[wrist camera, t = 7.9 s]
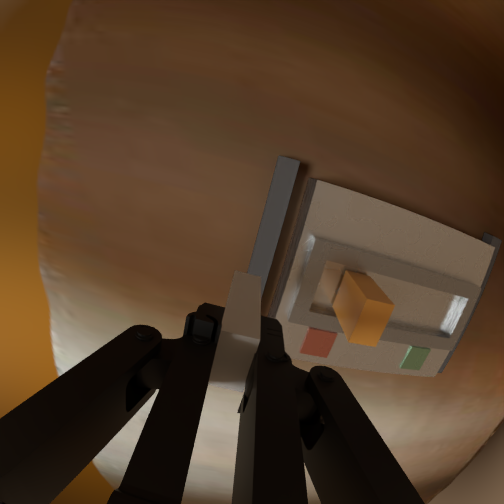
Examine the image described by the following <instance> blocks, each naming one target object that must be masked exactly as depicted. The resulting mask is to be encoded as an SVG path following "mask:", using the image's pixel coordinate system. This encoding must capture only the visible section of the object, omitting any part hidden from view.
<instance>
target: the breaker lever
mask: <svg viewBox="0 0 504 504" xmlns="http://www.w3.org/2000/svg"><path fill="white" fill-rule="evenodd" d="M332 307H333V309H334V311H335V313H336V316H337V318H338V320H339V322H340V325H341V327H342V329H343V331H344V334H345V336H346V338H347V341H348V342H349V343H355V344H361V345H367V346H373V347H376V345H377V343H378V341H379V339H380V337H381V335H382V333H383V331H384V329H385V327H386V325H387V322H388V320H389V318H390V316H391V314H392V311H393V309H394V307H395V305H394V303H393V302H392V301H391V300H390V299H389V298H388V296H387V295H386V294H385V293H384V292H383V291H382V289H381V288H380V287H379V286H378V285H377V284H376V283H375V281H374V280H373V279H372V278H371V277H370V276H367V275H364V274H360V273H356V272H352V271H348V270H346V271H345V274H344V277H343V279H342V282H341V285H340V288H339V290H338V293H337V295H336V298H335V301H334V303H333V306H332Z"/></svg>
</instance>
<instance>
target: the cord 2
mask: <svg viewBox="0 0 504 504" xmlns="http://www.w3.org/2000/svg"><path fill="white" fill-rule="evenodd" d="M482 242H484V243H487V244H489V245H491V246H493V247H495V249H494V252H493V255H492V258H491V261H490V264H489V267H488V269H487V272H486V275H485V277H484V280H483V282H482V285H481V287H480V288H481V292H480V294H479V297H478V299H477V301H476V303H475V306H474V308H473V310H472V312H471V314H470V316H469V319H468V321H467V323H466V325H465V327H464V329H463V331H462V333H461V335H460V337H459V338H458V340H457V342H456V344H455V346H454V348H453V350H452V351H449V353H448V355H447V357H446V359H445V360H444V362H443V364H442V365H441V367H440V369H439V370H438V372H437V373H442V371H443V370H444V368H445V366H446V365H447V363H448V361H449V359H450V358H451V356H452V354H453V352H454V351H455V349H456V347H457V345H458V343H459V341H460V340H461V338H462V336H463V334H464V332H465V330H466V328H467V326H468V324H469V322H470V320H471V318H472V316H473V313H474V311H475V309H476V307H477V305H478V302H479V300H480V298H481V296H482V293H483V291H484V288H485V286H486V283H487V281H488V278H489V276H490V273H491V271H492V268H493V265H494V262H495V260H496V257H497V254H498V251H499V248H500V245H501V242H502V240H500V239H498V238H496V237H494V236H492V235H490V234H487V233H485V232H484V235H483V238H482Z"/></svg>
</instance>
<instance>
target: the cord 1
mask: <svg viewBox="0 0 504 504" xmlns="http://www.w3.org/2000/svg"><path fill="white" fill-rule="evenodd" d="M299 164H300V161H298V160H294V159H290V158H287V157H283V156H280V155H279V156H278V160H277V163H276V167H275V171H274V175H273V178H272V182H271V186H270V190H269V193H268V197H267V201H266V205H265V208H264V212H263V216H262V220H261V223H260V227H259V231H258V235H257V238H256V242H255V246H254V250H253V253H252V257H251V261H250V265H249V268H248V272H247V274H251V275H255V276H259V277H261V298H262V294H263V291H264V288H265V284H266V281H267V277H268V274H269V271H270V267H271V264H272V260H273V257H274V253H275V250H276V246H277V243H278V239H279V236H280V232H281V229H282V225H283V222H284V218H285V215H286V211H287V207H288V204H289V200H290V197H291V193H292V189H293V186H294V182H295V178H296V175H297V171H298V167H299Z"/></svg>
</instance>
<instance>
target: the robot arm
mask: <svg viewBox="0 0 504 504" xmlns="http://www.w3.org/2000/svg"><path fill="white" fill-rule="evenodd" d="M208 384H209V385H213V386H217V387H221V388H225V389H230V390H234V391H239V392H243V390H244V387H245V392H244V395H243V398H242V401H241V404H240V406H239V409H238V412H237V413H240V423H239V433H238V444H237V454H236V464H235V475H234V485H233V495H232V504H308V498H307V488H306V478H305V469H304V463H305V466H306V468H307V471H308V473H309V475H310V478H311V480H312V483H313V485H314V487H315V490H316V492H317V494H318V497H319V499H320V501H321V504H425V503H424V502H423V500H422V499H421V497H420V496H419V494H418V492H417V491H416V489H415V488H414V486H413V485H412V483H411V482H410V480H409V479H408V477H407V476H406V474H405V473H404V471H403V470H402V468H401V466H400V465H399V463H398V462H397V460H396V459H395V457H394V456H393V454H392V453H391V451H390V450H389V448H388V447H387V445H386V444H385V442H384V441H383V439H382V438H381V436H380V435H379V433H378V432H377V430H376V428H375V427H374V425H373V424H372V422H371V421H370V419H369V418H368V416H367V415H366V413H365V412H364V410H363V409H362V407H361V406H360V404H359V403H358V401H357V400H356V398H355V397H354V395H353V394H352V392H351V391H350V389H349V388H348V386H347V385H346V383H345V382H344V380H343V379H342V377H341V376H340V375H339V374H338V373H337V372H336V371H335V370H333V369H332V368H329V367H326V366H314V367H313V368H311V370H310V372H307V371H304V370H302V369H299V368H297V367H295V366H294V365H292V361H291V358H290V356H289V355H288V354H287V353H286V352H285V347H284V338H283V329H282V325H281V324H280V322H279V321H278V320H277V319H273V318H269V317H265V316H261V277H259V276H255V275H251V274H247V273H243V272H239V271H235V272H234V276H233V280H232V284H231V288H230V292H229V296H228V300H227V303H226V307H225V308H224V307H220V306H216V305H213V304H209V303H204V304H202V305H200V306H199V307H198V309H197V312H192V313H189V314H188V315H187V317H186V322H185V328H184V334H183V337H181V338H178V339H163V338H162V335H161V333H160V332H159V331H158V330H157V329H155V328H154V327H151V326H148V325H134V326H132V327H130V328H128V329H127V330H125V331H124V332H123V333H121V334H120V335H118V336H117V337H115V338H114V339H113V340H111V341H110V342H108V343H107V344H105V345H104V346H102V347H101V348H100V349H98V350H97V351H95V352H94V353H92V354H91V355H90V356H88V357H87V358H85V359H84V360H82V361H81V362H80V363H78V364H77V365H75V366H74V367H72V368H71V369H70V370H68V371H67V372H65V373H64V374H62V375H61V376H60V377H58V378H57V379H56V380H54V381H53V382H51V383H50V384H48V385H47V386H46V387H44V388H43V389H41V390H40V391H38V392H37V393H36V394H34V395H33V396H31V397H30V398H29V399H27V400H26V401H24V402H23V403H22V404H20V405H19V406H17V407H16V408H14V409H13V410H12V411H10V412H9V413H8V414H6V415H5V416H3V417H2V418H1V419H0V504H50V503H51V501H52V500H54V499H55V498H56V496H58V495H59V493H60V492H61V491H63V489H64V488H65V487H66V486H67V485H68V484H69V483H70V482H71V481H72V480H73V479H74V478H75V477H76V476H77V475H78V474H79V473H80V472H81V471H82V470H83V469H84V468H85V467H86V466H87V465H88V464H89V463H90V461H92V459H93V458H94V457H95V456H96V455H97V454H98V453H99V452H100V451H101V450H102V449H103V448H104V447H105V446H106V445H107V444H108V443H109V442H110V440H111V439H112V438H113V437H114V436H115V435H116V434H117V433H118V432H119V431H120V430H121V429H122V428H123V427H124V426H125V424H126V423H127V422H128V421H129V420H130V419H131V418H132V417H133V416H134V415H135V414H136V413H137V412H138V410H139V409H140V408H141V407H142V406H143V405H144V404H145V403H146V402H147V401H148V400H149V398H150V397H151V396H152V395H153V394H154V393H155V391H156V389H159V392H158V394H157V396H156V399H155V401H154V404H153V406H152V408H151V411H150V413H149V415H148V418H147V420H146V423H145V425H144V428H143V430H142V432H141V435H140V437H139V440H138V442H137V445H136V447H135V450H134V452H133V455H132V457H131V460H130V462H129V465H128V467H127V470H126V472H125V475H124V477H123V480H122V482H121V485H120V486H119V488H118V489H116V490H114V491H113V492H112V494H111V496H110V498H109V500H108V502H107V504H181V501H182V496H183V492H184V487H185V483H186V478H187V474H188V469H189V465H190V460H191V456H192V451H193V447H194V443H195V438H196V434H197V429H198V425H199V421H200V416H201V412H202V408H203V404H204V399H205V395H206V391H207V386H208Z"/></svg>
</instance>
